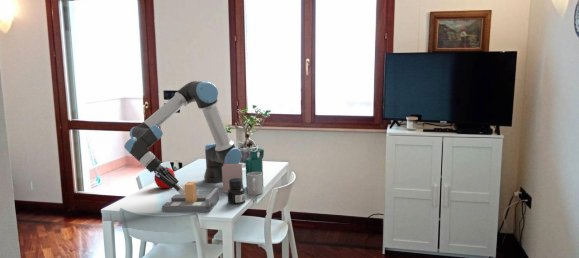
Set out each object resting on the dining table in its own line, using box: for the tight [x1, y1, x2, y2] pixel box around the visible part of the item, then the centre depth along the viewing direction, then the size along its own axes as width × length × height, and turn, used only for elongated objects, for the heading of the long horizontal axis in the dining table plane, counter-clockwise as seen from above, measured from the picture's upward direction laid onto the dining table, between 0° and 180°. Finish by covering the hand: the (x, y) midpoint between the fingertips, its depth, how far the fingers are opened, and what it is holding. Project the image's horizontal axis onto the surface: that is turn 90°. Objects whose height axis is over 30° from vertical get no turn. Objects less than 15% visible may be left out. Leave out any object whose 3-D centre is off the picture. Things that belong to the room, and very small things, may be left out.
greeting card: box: [222, 163, 244, 193], centre depth 260 cm, size 11×7×15 cm, turn 74°
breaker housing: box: [161, 187, 221, 213], centre depth 236 cm, size 24×20×6 cm
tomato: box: [154, 166, 176, 189], centre depth 270 cm, size 12×12×13 cm
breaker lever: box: [184, 181, 198, 202], centre depth 235 cm, size 4×6×10 cm, turn 175°
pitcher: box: [244, 148, 265, 186], centre depth 266 cm, size 10×8×22 cm
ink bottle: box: [227, 178, 246, 205], centre depth 239 cm, size 10×9×12 cm
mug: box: [246, 172, 264, 196], centre depth 253 cm, size 12×8×11 cm
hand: (184, 193), depth 235 cm, fingers closed
